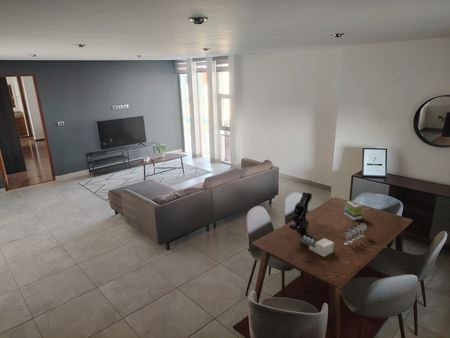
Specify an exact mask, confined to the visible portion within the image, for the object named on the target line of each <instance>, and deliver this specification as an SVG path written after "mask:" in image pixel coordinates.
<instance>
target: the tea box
mask: <svg viewBox="0 0 450 338" xmlns="http://www.w3.org/2000/svg"><path fill="white" fill-rule="evenodd" d="M343 213H344V215H345V216H346V217H348V218H350V219H351V220H353V221H356V220H361V219H362V216H363V205H362V204H360V203H358V202H356V201H354V200H347V201H345V202H344V212H343Z"/></svg>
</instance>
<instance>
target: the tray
mask: <svg viewBox="0 0 450 338" xmlns="http://www.w3.org/2000/svg"><path fill="white" fill-rule="evenodd" d="M299 242H300V243H301V244H304V245H306V246H307V247H309V246H312V247H314V248H315V243H316V242H317V241H315V240H314V239H313V238H312V239H311V237H310V236H309V237H308V236H307V235H303V236H302V237H300V238H299Z"/></svg>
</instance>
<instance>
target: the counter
mask: <svg viewBox="0 0 450 338" xmlns="http://www.w3.org/2000/svg"><path fill="white" fill-rule="evenodd" d="M315 242H316V243H315V247H312V246H308V249H309V250H310V251H312V252H314V253H315V254H318V255H320V256H321V257H323V258H324V257H326V256H329V255H330V254H332V253H334V246H335V245H334V244H335V243H334V241H331V240H329V239H327V238H325V237H323V238H322V239H319V240H318V241H315Z"/></svg>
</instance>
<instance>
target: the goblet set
mask: <svg viewBox="0 0 450 338" xmlns="http://www.w3.org/2000/svg"><path fill="white" fill-rule="evenodd" d="M367 228H368V227H367V224H366V223H364V222H360V224H359V223H358V224H357V225H353V227H350V226H349V227H348V230H345V231H344V237H345V238H346V240H347V241H345V242H344V243H343V244H344V245H345V246H350V244H354V242H357V241H356V240H360V239H361V238H365V237H366V236H365V235H364V234H363V232H364V230H366V229H367ZM360 231H361V234H360ZM357 232H358V234H357ZM356 234H357V236H355V237H354V238H352V236H354V235H356ZM349 238H351V239H349ZM353 240H354V241H353Z"/></svg>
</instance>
